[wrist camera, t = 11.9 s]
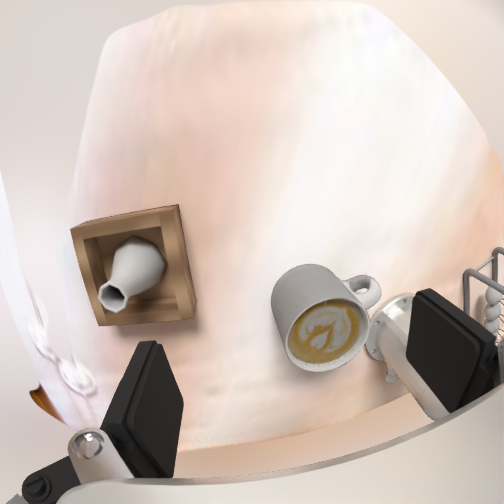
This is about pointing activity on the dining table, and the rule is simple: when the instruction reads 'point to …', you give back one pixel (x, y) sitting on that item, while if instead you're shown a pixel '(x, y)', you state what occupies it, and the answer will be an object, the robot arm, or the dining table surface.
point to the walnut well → (102, 255)
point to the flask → (132, 273)
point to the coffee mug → (322, 316)
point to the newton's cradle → (487, 293)
